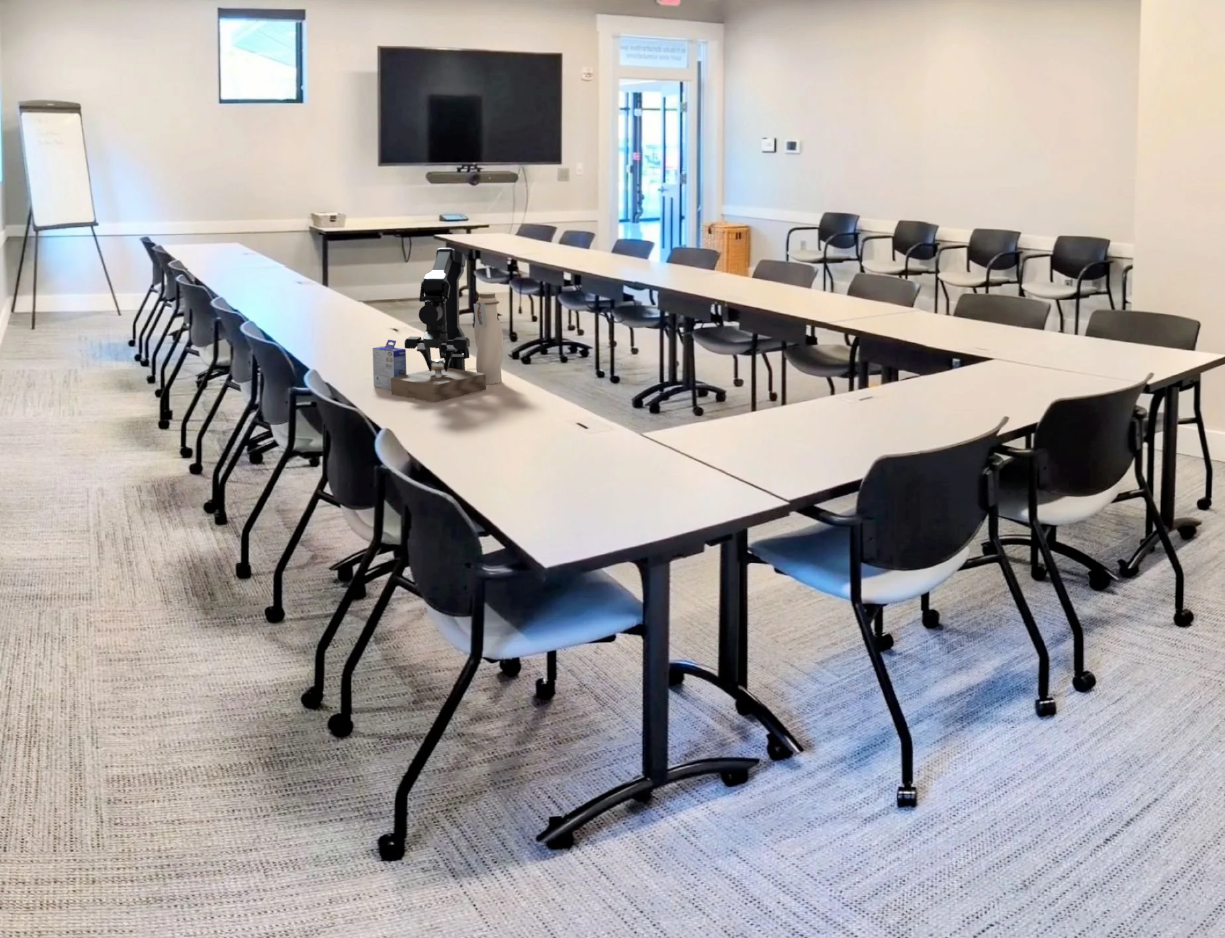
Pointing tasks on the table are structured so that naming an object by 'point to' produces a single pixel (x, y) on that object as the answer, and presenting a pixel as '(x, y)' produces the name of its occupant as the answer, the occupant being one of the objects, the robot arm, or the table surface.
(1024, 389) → the table surface
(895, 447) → the table surface
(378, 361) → the ink cartridge box
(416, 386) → the press block
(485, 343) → the water bottle
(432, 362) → the plunger
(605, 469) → the table surface
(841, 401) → the table surface
